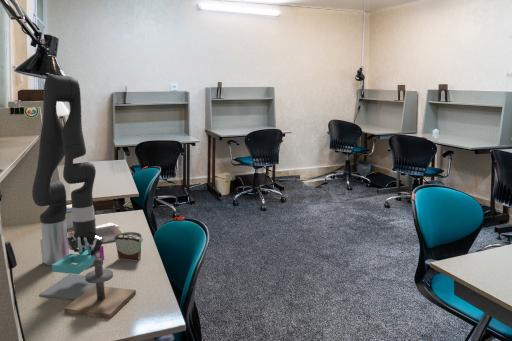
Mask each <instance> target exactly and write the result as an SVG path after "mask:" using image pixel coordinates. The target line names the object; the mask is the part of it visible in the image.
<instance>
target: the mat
mask: <svg viewBox="0 0 512 341" xmlns="http://www.w3.org/2000/svg"><path fill="white" fill-rule="evenodd" d="M85 276H86V275H81V274H70V273H68V274H67V275H65V276H64V277H63V278H62V279H60V280H58V281H57V282H55V283H54V284H52V285H51V286H49V287H48V288H45V290H43V291H41V292H40V293H39V294H38V296H40V297H45V298H46V297H47V298H56V299H65V300H72V301H74V300H75V299H77V298H78V297H79V296H81V295H82V294H83V293H84V292H86V291H87V290H88V289H90V288H91V287H92V286H96V283H89V282H87V281H86V280H85Z"/></svg>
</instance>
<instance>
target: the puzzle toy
mask: <svg viewBox="0 0 512 341" xmlns="http://www.w3.org/2000/svg"><path fill="white" fill-rule="evenodd" d="M94 247H95V246H94ZM86 250H87V249H86V248H85V251H86ZM94 256H95V259H96V258H101V259H102V260H103V261H104V260H105V253H104V245H101V247H100V250H99V251H98V252H96V253H95V254H94Z"/></svg>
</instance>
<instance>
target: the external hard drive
mask: <svg viewBox="0 0 512 341" xmlns="http://www.w3.org/2000/svg"><path fill="white" fill-rule="evenodd" d="M113 225H115V226H116V227H117V228H118V229H119V228H120V225H118V224H116V223H113V222H107V223H103V224H99V225H96V228H101V227H107V226H113Z"/></svg>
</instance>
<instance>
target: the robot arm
mask: <svg viewBox="0 0 512 341" xmlns="http://www.w3.org/2000/svg"><path fill="white" fill-rule="evenodd" d="M81 97H82V96H81V86H80V84H79V81H78V80H77V78H76V77H73V76H67V75H58V74H50V75H48V76H46V77H45V80H44V84H43V104H42V106H43V108H42V109H43V110H42V120H41V122H42V123H41V130H40V131H41V132H40V136H39V137H40V138H39V150H38V157H37V167H36V172H35V176H34V180H33V184H32V190H31V191H32V193H31V195H32V200H33V202H34V204H35V205H37V206H38V207H47V206H48V207H47V208H46V210H45V211H43V212H41V214H40V215H39V220H40V221H39V222H40V229H41V230H40V231H41V238H42V239H40V241H39V243H40V251H41V253H40V254H41V261H42V264H45V265H47V266H52V264H54V263H56V262H57V261H59V260H61V259H62V258H64V257H66V256H67V255H69V254H70V247H69V244H70V246H71V248H72V249H73V251H74V253H78V254H79V255H80V254H81V253H83V252H84V251H85V248H86V249H87V250H88V254H89V255H91V256H94V254H95V253H96V252H98V251H99V250H100V247H101V246H103V245H102V244H103V243H102V242H103V240H104V239H103V238H102V237H101V238H99V237H98V236H97V234H96V232H95V229H96V226H97V224H96V214H95V207H94V199H93V189H94V183H95V178H96V170H97V169H96V166H95V165H94V163H91V162H90V161H85V162H75V163H74V160H76V159H78V158H80V157H83V156H85V155H86V154H87V148H86V144H85V138H84V133H83V126H82V102H81V101H82V98H81ZM58 102H60V103H61V102H62V103H68V104H69V114H68V117H67V119H66V121H65V123H64V125H63V123H62V121H61V120H60V118H59V116H58V112H57V103H58ZM63 159H64V164H63V165H64V166H63V172H62V177H63V179H64V181H65V183H67V184H69V185H73V184H81V183H82V186H81V187H78V188H76V189H74V190H71V193H70V200H71V204H72V220H73V228H72V230H73V232H75V233H74V235H72V236H70V237H68V229H67V226H66V212H67V205H68V204H67V191H66V187H65V185H64V182H63V181H61V180H59V179H52V177H53V174H54V173H55V170H56V169H57V167H58V166H59V165H60V163H61V162H62V160H63ZM94 240H95V243H96V244H94ZM77 241H78V242H77ZM75 245H76V246H75ZM94 246H95V247H94ZM76 247H77V248H76Z"/></svg>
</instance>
